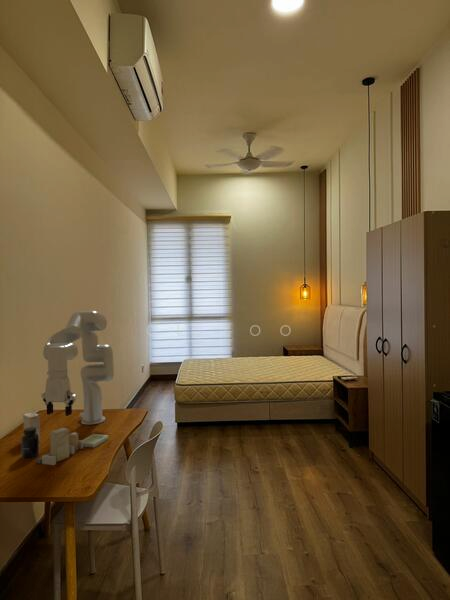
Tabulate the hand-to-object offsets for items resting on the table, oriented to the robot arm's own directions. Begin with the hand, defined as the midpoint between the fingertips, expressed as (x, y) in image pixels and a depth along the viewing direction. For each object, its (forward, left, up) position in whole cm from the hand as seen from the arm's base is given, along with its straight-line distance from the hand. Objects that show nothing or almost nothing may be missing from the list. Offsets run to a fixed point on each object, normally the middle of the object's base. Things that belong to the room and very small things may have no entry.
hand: (59, 414), depth 161 cm
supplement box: (-28, +13, -19) cm, 36 cm away
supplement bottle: (-15, -1, -19) cm, 24 cm away
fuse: (0, +8, -19) cm, 21 cm away
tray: (+3, +18, -19) cm, 27 cm away
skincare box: (0, 0, -19) cm, 19 cm away
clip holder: (-2, +3, -19) cm, 19 cm away
